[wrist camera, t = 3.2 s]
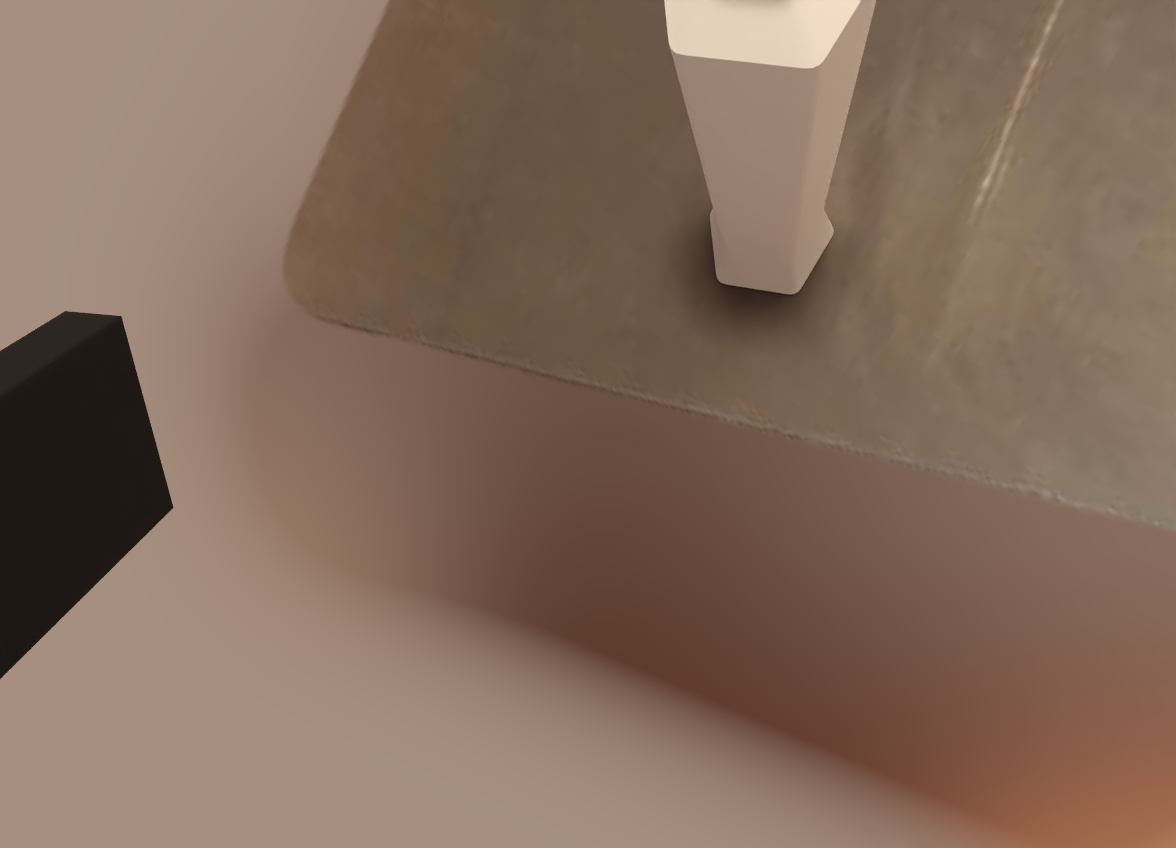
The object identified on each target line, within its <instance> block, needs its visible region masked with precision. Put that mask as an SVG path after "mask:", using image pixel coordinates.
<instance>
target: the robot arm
mask: <svg viewBox="0 0 1176 848" xmlns="http://www.w3.org/2000/svg"><path fill="white" fill-rule="evenodd" d="M172 508H173V504H172V501H171V497H170V494H169V490H168V486H167V482H166V479H165V475H164V472H163V468H162V464H161V460H160V457H159V453H158V449H157V446H156V442H155V438H154V435H153V431H152V427H151V424H150V420H149V417H148V413H147V409H146V405H145V402H144V399H143V394H142V391H141V387H140V383H139V380H138V376H137V372H136V369H135V365H134V361H133V358H132V354H131V350H130V347H129V343H128V339H127V335H126V332H125V328H124V325H123V321H122V317H121V316H112V315H101V314H90V313H79V312H67V311H65V312H63V313H62V314H60V315H58V316H57V317H55V318H53V319H52V320H50V321H49V322H47V323H45V324H44V325H42V326H40V327H39V328H37V329H35V330H34V331H32V332H31V333H29V334H27V335H26V336H24V337H22V338H21V339H19V340H17V341H16V342H14V343H13V344H11V345H9V346H8V347H6V348H4V349H3V350H1V351H0V679H1V678H2V677H3V676H4V675H5V673H7V672H8V671H9V670H10V669H11V668H12V667H13V666H14V665H15V664H16V663H17V662H18V661H19V660H20V659H21V658H22V657H23V656H24V655H25V654H26V653H27V652H28V651H29V650H30V649H31V648H32V647H33V646H34V645H35V644H36V643H37V642H38V641H39V640H40V639H41V638H42V637H43V636H44V635H45V634H46V633H47V632H48V631H49V630H50V629H51V628H52V627H53V626H54V625H55V624H56V623H57V622H58V621H59V620H60V619H61V618H62V617H63V616H64V615H65V614H66V613H67V612H68V611H69V610H70V609H71V608H72V607H73V606H74V605H75V604H76V603H77V602H78V601H79V600H80V599H81V598H82V597H83V596H84V595H86V594H87V593H88V592H89V591H90V590H91V589H92V588H93V587H94V586H95V585H96V584H97V583H98V582H99V581H100V580H101V579H102V578H103V577H104V576H105V575H106V574H107V573H108V572H109V571H110V570H111V569H112V568H113V567H114V566H115V565H116V564H117V563H118V562H119V561H120V560H121V559H122V558H123V557H124V556H125V555H126V554H127V553H128V552H129V551H130V550H131V549H132V548H133V547H134V546H135V545H136V544H137V543H138V542H139V541H140V540H141V539H142V538H143V537H144V536H145V535H146V534H147V533H148V532H149V531H150V530H151V529H152V528H153V527H154V526H155V525H156V524H157V523H158V522H159V521H160V520H161V519H162V518H163V517H164V516H165V515H166V514H167V513H168V512H169V511H170V510H171V509H172Z"/></svg>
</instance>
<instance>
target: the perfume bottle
mask: <svg viewBox="0 0 1176 848" xmlns="http://www.w3.org/2000/svg"><path fill="white" fill-rule="evenodd" d="M664 2H665V11H666V21H667V31H668V40H669V45H670V49H671V53H672V56H673V60H674V64H675V67H676V71H677V75H678V79H679V82H680V86H681V90H682V94H683V97H684V101H685V105H686V108H687V112H688V116H689V120H690V123H691V127H692V131H693V135H694V138H695V142H696V146H697V149H698V153H699V157H700V161H701V164H702V168H703V172H704V176H705V179H706V183H707V187H708V190H709V194H710V198H711V202H712V205H713V209H712V211H711V214H710V224H711V233H712V242H713V251H714V261H715V270H716V276H717V280H718V281H719V282H720V283H723V284H727V285H733V286H739V287H745V288H751V289H758V290H764V291H770V292H776V293H782V294H795V293H798V292H799V290H800V289H801V288H802V286H803V284H804V283H805V281H806V279H807V278H808V276H809V274H810V273H811V271H812V269H813V268H814V266H815V264H816V263H817V261H818V260H819V258H820V256H821V255H822V253H823V251H824V250H825V248H826V246H827V245H828V243H829V241H830V240H831V238H832V236H833V233H834V229H833V227H832V225H831V223H830V221H829V219H828V217H827V215H826V213H825V211H824V205H825V201H826V197H827V193H828V189H829V185H830V181H831V178H832V174H833V170H834V166H835V162H836V158H837V154H838V150H839V146H840V142H841V138H842V134H843V130H844V126H845V122H846V118H847V114H848V110H849V106H850V102H851V98H852V94H853V90H854V86H855V82H856V79H857V75H858V71H859V67H860V63H861V59H862V55H863V51H864V47H865V43H866V39H867V35H868V31H869V27H870V23H871V19H872V15H873V11H874V7H875V3H876V0H664Z"/></svg>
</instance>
